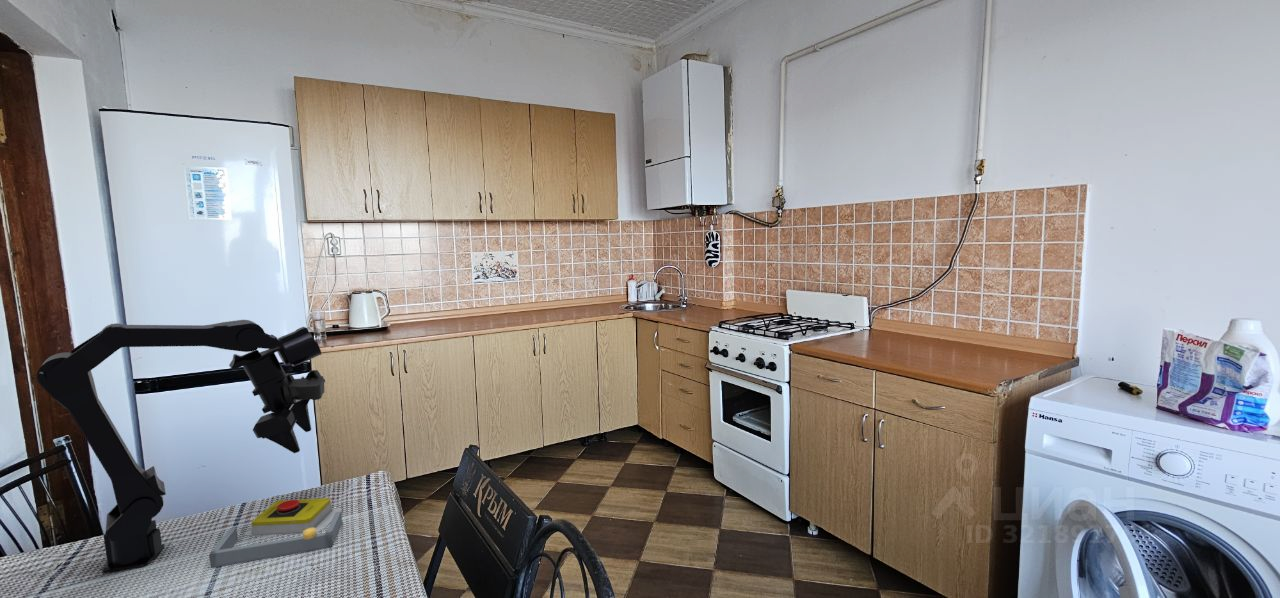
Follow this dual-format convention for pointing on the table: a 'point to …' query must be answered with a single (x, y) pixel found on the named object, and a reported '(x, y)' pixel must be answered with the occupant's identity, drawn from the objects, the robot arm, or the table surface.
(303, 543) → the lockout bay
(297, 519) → the emergency button
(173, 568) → the table surface
